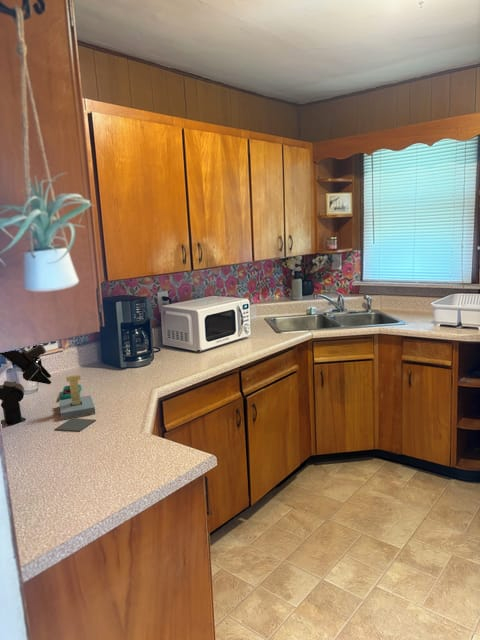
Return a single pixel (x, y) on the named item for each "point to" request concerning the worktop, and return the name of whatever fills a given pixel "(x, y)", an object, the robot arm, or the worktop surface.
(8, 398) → the robot arm
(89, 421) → the rubber mat
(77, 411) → the block
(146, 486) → the worktop surface
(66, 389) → the digital multimeter
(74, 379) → the brass key
